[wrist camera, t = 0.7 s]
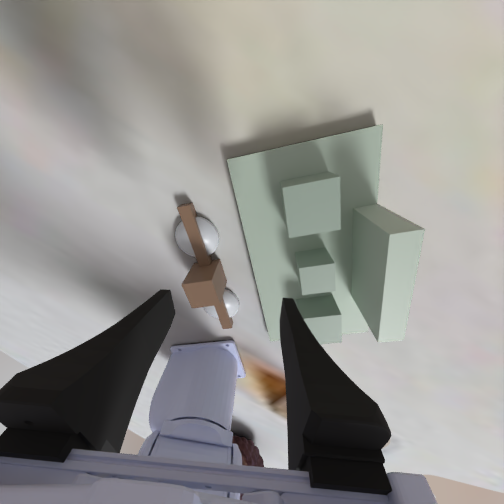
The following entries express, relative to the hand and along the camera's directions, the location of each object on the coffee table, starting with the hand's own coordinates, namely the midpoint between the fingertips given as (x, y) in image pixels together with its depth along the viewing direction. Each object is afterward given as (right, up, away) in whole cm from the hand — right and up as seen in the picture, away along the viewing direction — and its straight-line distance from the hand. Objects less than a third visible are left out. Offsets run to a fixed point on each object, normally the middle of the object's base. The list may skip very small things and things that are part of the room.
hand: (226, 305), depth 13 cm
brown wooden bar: (-3, +1, +10) cm, 11 cm away
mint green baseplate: (+8, +3, +9) cm, 12 cm away
